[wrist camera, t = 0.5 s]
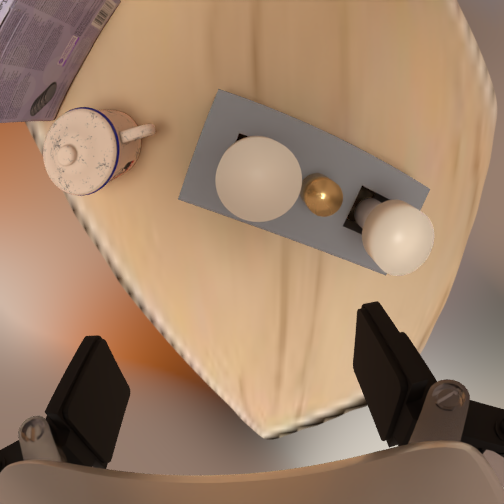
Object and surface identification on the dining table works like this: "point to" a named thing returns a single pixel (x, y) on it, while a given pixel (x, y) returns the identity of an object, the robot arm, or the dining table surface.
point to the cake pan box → (44, 52)
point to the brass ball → (321, 195)
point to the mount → (311, 161)
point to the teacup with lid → (92, 148)
